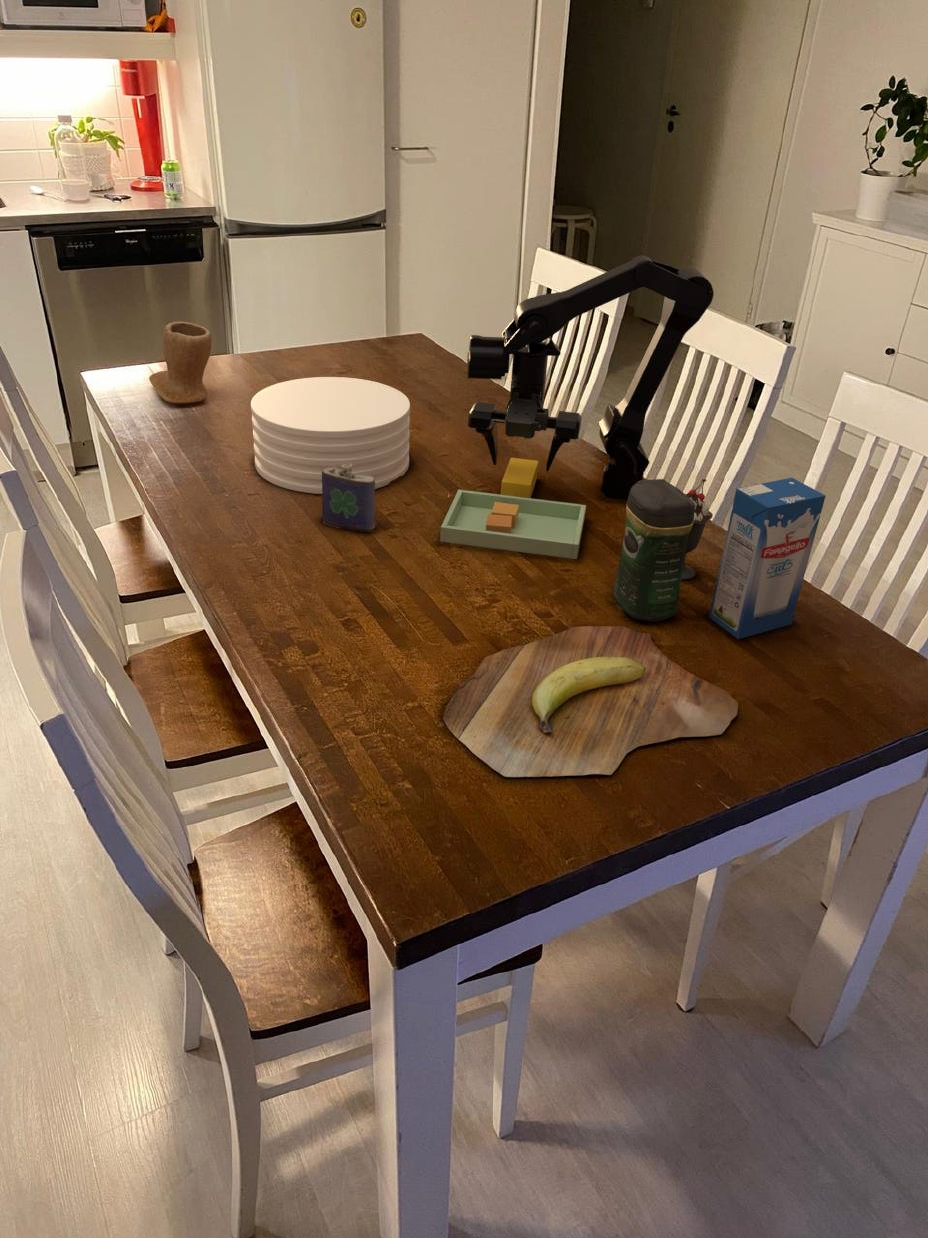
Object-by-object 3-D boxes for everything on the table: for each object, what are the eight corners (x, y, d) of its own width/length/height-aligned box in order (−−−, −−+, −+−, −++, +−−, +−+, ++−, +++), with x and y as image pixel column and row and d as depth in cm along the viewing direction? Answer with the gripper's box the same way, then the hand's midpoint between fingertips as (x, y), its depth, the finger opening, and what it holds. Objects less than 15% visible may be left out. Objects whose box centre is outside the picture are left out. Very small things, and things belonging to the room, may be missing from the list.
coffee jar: (684, 620, 137) (708, 501, 128) (633, 627, 135) (653, 506, 125) (653, 587, 145) (673, 471, 135) (605, 592, 143) (621, 475, 133)
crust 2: (511, 529, 158) (512, 515, 156) (510, 540, 154) (511, 526, 153) (486, 527, 158) (487, 513, 157) (485, 538, 155) (485, 524, 153)
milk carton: (737, 639, 134) (768, 507, 123) (708, 617, 139) (735, 488, 128) (791, 624, 138) (826, 495, 127) (761, 603, 143) (792, 477, 132)
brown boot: (222, 403, 202) (216, 331, 194) (164, 410, 197) (155, 336, 189) (204, 381, 213) (198, 311, 205) (149, 387, 209) (140, 316, 201)
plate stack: (224, 474, 172) (218, 412, 166) (304, 424, 194) (302, 368, 188) (366, 506, 164) (365, 442, 158) (433, 450, 186) (434, 392, 180)
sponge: (536, 481, 176) (538, 460, 174) (528, 506, 167) (530, 485, 165) (509, 477, 177) (510, 457, 175) (499, 503, 168) (501, 481, 165)
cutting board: (618, 613, 138) (621, 590, 136) (763, 717, 119) (770, 692, 117) (404, 684, 121) (404, 659, 119) (533, 818, 102) (536, 790, 100)
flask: (377, 528, 157) (377, 466, 152) (369, 535, 155) (368, 473, 149) (327, 516, 160) (324, 455, 154) (318, 523, 158) (315, 462, 152)
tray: (584, 521, 163) (586, 504, 161) (576, 562, 151) (578, 544, 149) (457, 505, 166) (458, 489, 164) (439, 544, 154) (440, 526, 152)
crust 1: (518, 518, 161) (519, 504, 160) (514, 528, 158) (515, 515, 157) (494, 515, 162) (495, 501, 161) (490, 525, 159) (491, 512, 157)
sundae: (703, 566, 152) (721, 477, 144) (697, 586, 146) (715, 494, 138) (661, 557, 153) (676, 469, 145) (653, 577, 148) (669, 486, 140)
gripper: (464, 389, 156) (459, 479, 164) (580, 401, 153) (570, 492, 161) (476, 368, 165) (471, 454, 173) (586, 379, 162) (576, 466, 171)
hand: (521, 467), depth 169 cm, fingers open, 9 cm apart
